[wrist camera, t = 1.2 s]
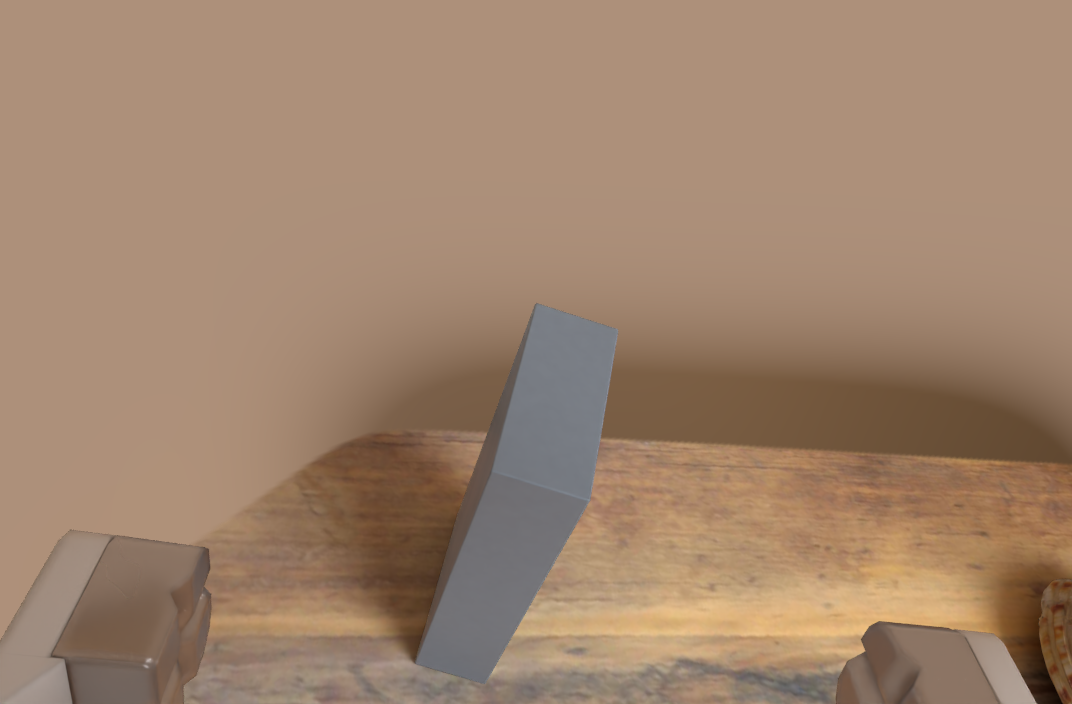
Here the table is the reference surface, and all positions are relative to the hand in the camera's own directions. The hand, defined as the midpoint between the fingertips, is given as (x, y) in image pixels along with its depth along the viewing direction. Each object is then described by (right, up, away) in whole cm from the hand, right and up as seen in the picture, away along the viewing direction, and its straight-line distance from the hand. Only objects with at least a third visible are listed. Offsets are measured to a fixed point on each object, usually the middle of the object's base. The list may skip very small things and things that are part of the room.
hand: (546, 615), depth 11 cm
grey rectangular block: (-2, -6, +21) cm, 22 cm away
